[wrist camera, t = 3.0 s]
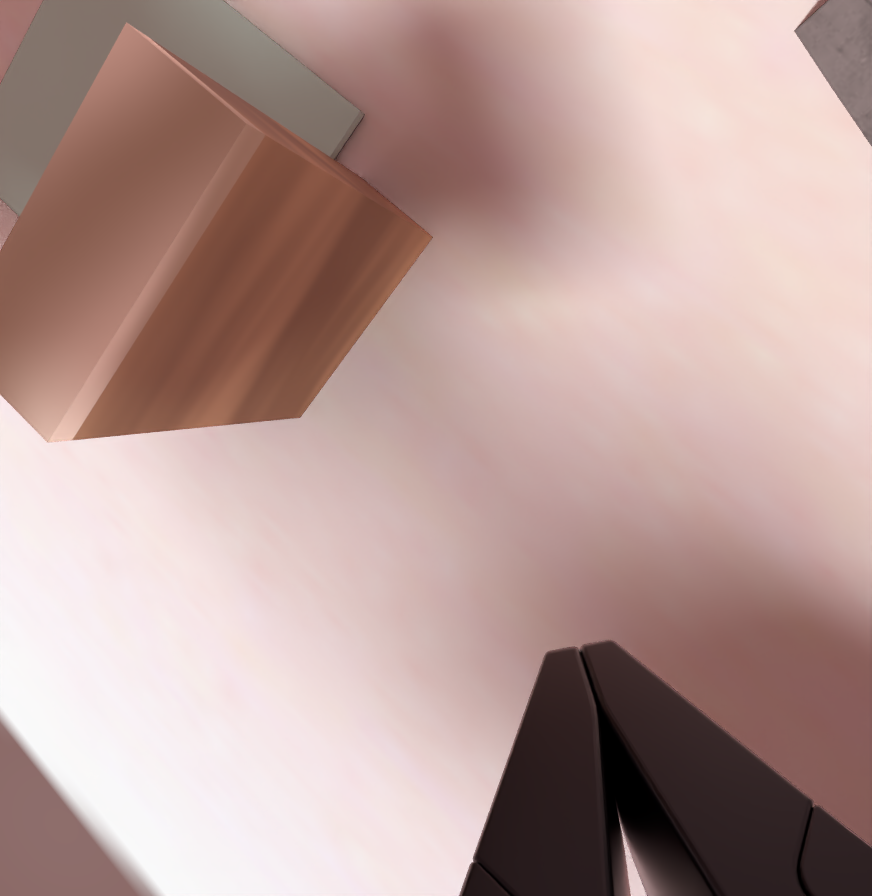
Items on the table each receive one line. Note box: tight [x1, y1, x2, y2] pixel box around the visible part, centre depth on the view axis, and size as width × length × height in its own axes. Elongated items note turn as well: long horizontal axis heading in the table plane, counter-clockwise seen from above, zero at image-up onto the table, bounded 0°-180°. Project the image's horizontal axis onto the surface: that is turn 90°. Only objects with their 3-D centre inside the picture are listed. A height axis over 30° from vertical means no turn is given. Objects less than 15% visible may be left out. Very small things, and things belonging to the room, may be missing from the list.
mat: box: [0, 0, 365, 216], centre depth 24 cm, size 12×10×1 cm
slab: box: [0, 22, 433, 443], centre depth 18 cm, size 3×7×10 cm, turn 140°
